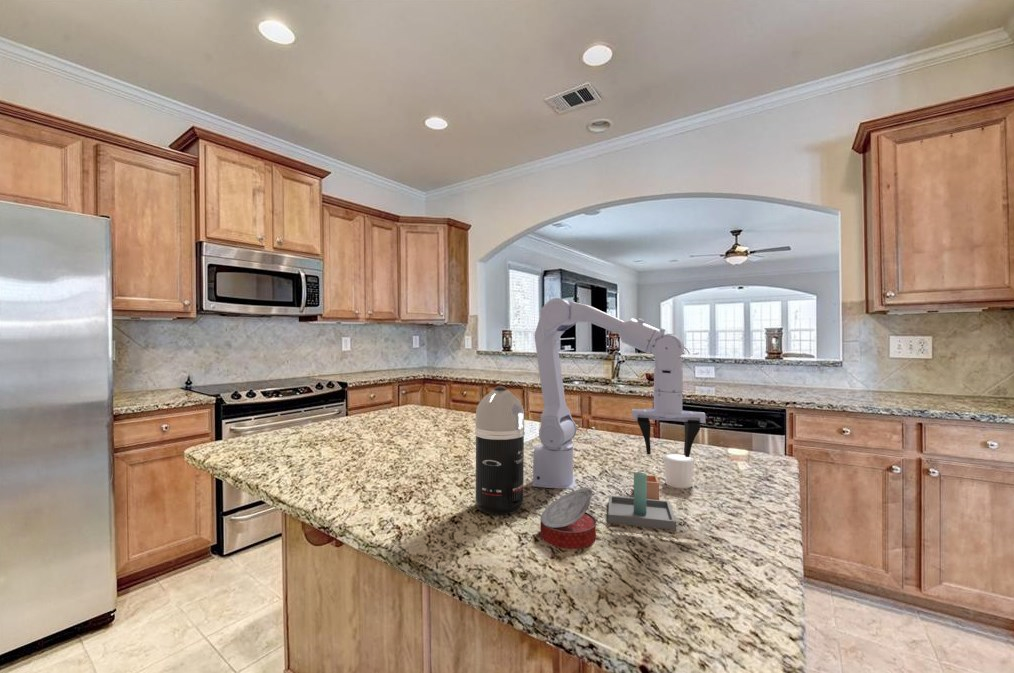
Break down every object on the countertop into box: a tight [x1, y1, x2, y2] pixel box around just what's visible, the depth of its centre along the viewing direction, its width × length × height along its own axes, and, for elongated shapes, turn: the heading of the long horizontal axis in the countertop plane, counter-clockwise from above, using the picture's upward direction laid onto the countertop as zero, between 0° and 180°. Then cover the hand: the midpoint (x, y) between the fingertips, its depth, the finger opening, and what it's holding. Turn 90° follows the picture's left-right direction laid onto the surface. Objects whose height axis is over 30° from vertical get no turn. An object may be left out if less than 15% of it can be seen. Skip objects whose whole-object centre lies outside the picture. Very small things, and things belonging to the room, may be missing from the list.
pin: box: [633, 471, 648, 515], centre depth 84 cm, size 2×2×8 cm
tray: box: [607, 495, 677, 531], centre depth 84 cm, size 12×10×2 cm
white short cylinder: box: [663, 452, 695, 489], centre depth 102 cm, size 7×7×7 cm
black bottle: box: [474, 385, 526, 516], centre depth 89 cm, size 10×10×25 cm
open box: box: [646, 474, 660, 500], centre depth 96 cm, size 5×5×4 cm
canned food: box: [539, 487, 597, 550], centre depth 77 cm, size 11×10×10 cm
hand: (667, 454), depth 92 cm, fingers open, 7 cm apart
